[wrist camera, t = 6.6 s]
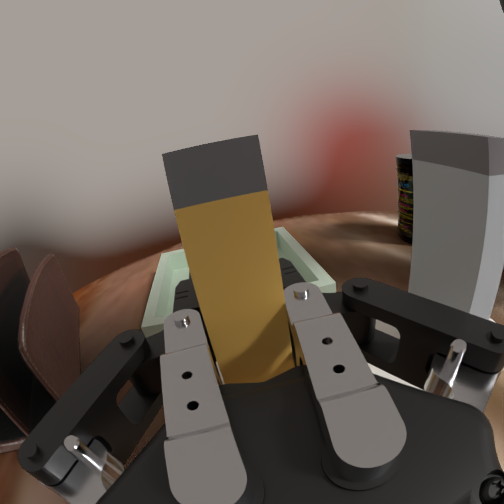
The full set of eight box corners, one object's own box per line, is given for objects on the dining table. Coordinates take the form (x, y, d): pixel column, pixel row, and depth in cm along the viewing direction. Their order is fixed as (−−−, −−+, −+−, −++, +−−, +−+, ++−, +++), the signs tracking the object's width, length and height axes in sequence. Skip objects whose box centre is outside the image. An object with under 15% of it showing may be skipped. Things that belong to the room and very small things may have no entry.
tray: (168, 275, 34) (161, 253, 33) (285, 249, 36) (282, 226, 35) (154, 356, 21) (141, 327, 20) (336, 314, 22) (335, 282, 21)
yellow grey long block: (280, 389, 16) (235, 146, 12) (303, 451, 12) (257, 134, 7) (241, 398, 16) (178, 158, 11) (255, 463, 11) (161, 154, 7)
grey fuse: (424, 337, 17) (440, 130, 12) (465, 378, 13) (513, 139, 7) (398, 349, 17) (409, 130, 12) (438, 396, 12) (488, 137, 7)
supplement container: (431, 252, 28) (433, 161, 24) (387, 237, 34) (384, 156, 30) (452, 235, 31) (454, 157, 27) (413, 224, 36) (411, 152, 32)
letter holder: (-2, 457, 9) (-115, 296, 4) (20, 333, 26) (-25, 230, 20) (91, 432, 14) (-27, 236, 8) (80, 309, 30) (40, 199, 24)
